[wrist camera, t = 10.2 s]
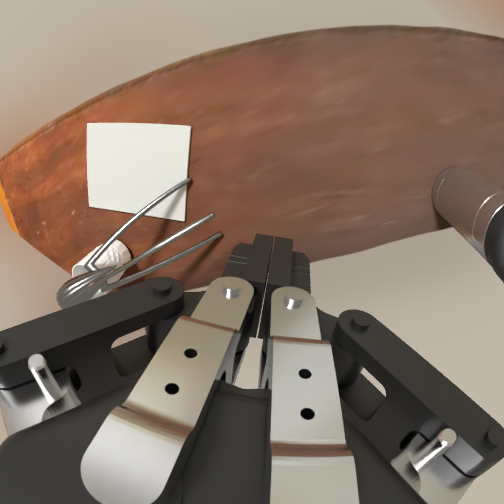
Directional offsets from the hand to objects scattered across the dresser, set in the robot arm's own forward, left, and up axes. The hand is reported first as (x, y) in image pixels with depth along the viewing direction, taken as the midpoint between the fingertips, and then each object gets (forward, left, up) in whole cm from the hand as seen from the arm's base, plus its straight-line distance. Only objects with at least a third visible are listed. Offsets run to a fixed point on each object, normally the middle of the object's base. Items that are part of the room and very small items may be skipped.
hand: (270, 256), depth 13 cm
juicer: (+10, +10, -31) cm, 34 cm away
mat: (+25, +7, -35) cm, 43 cm away
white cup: (+29, +24, -35) cm, 51 cm away
